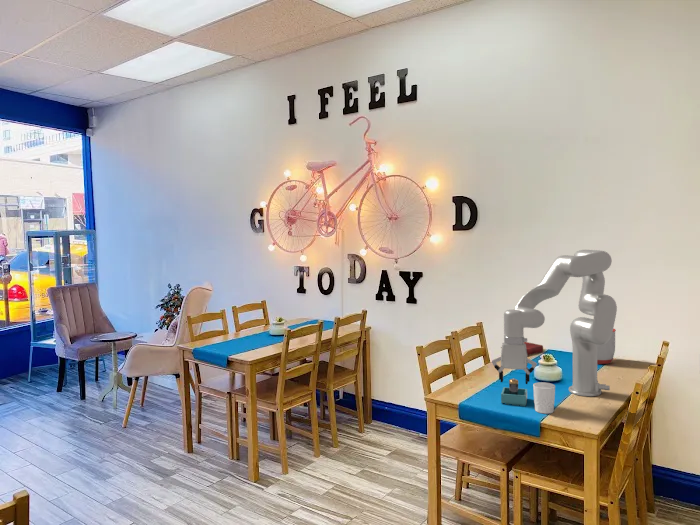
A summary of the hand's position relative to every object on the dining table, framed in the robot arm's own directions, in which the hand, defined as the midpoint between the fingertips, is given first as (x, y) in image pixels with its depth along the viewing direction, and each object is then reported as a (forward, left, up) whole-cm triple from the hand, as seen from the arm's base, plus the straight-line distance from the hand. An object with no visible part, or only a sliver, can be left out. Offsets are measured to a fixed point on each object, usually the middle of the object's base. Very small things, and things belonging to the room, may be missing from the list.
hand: (514, 382), depth 212 cm
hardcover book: (+2, -84, -8) cm, 85 cm away
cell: (0, 0, -7) cm, 7 cm away
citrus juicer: (-35, -73, -8) cm, 81 cm away
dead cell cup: (0, 0, -8) cm, 8 cm away
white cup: (-12, +8, -8) cm, 16 cm away
